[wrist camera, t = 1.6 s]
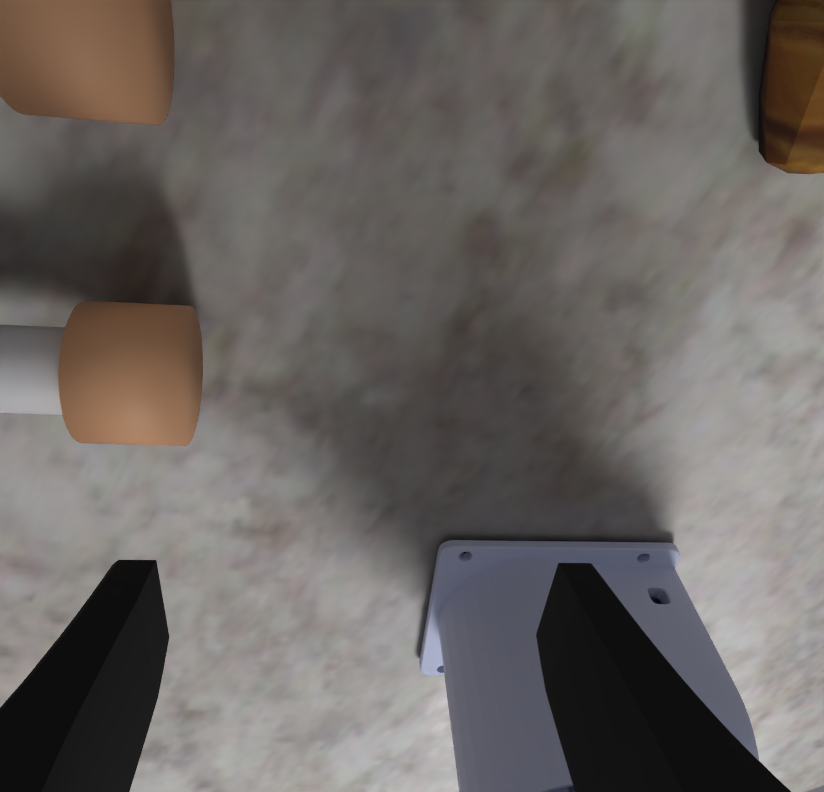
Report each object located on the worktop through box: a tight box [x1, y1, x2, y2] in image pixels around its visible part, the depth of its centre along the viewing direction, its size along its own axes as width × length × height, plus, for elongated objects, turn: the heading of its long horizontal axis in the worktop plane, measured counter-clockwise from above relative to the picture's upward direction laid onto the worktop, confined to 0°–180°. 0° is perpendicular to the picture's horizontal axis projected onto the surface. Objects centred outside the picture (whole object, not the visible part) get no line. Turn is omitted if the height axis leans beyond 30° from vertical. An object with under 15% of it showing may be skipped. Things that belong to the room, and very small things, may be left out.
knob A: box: [0, 301, 203, 446], centre depth 17 cm, size 8×4×4 cm, turn 85°
